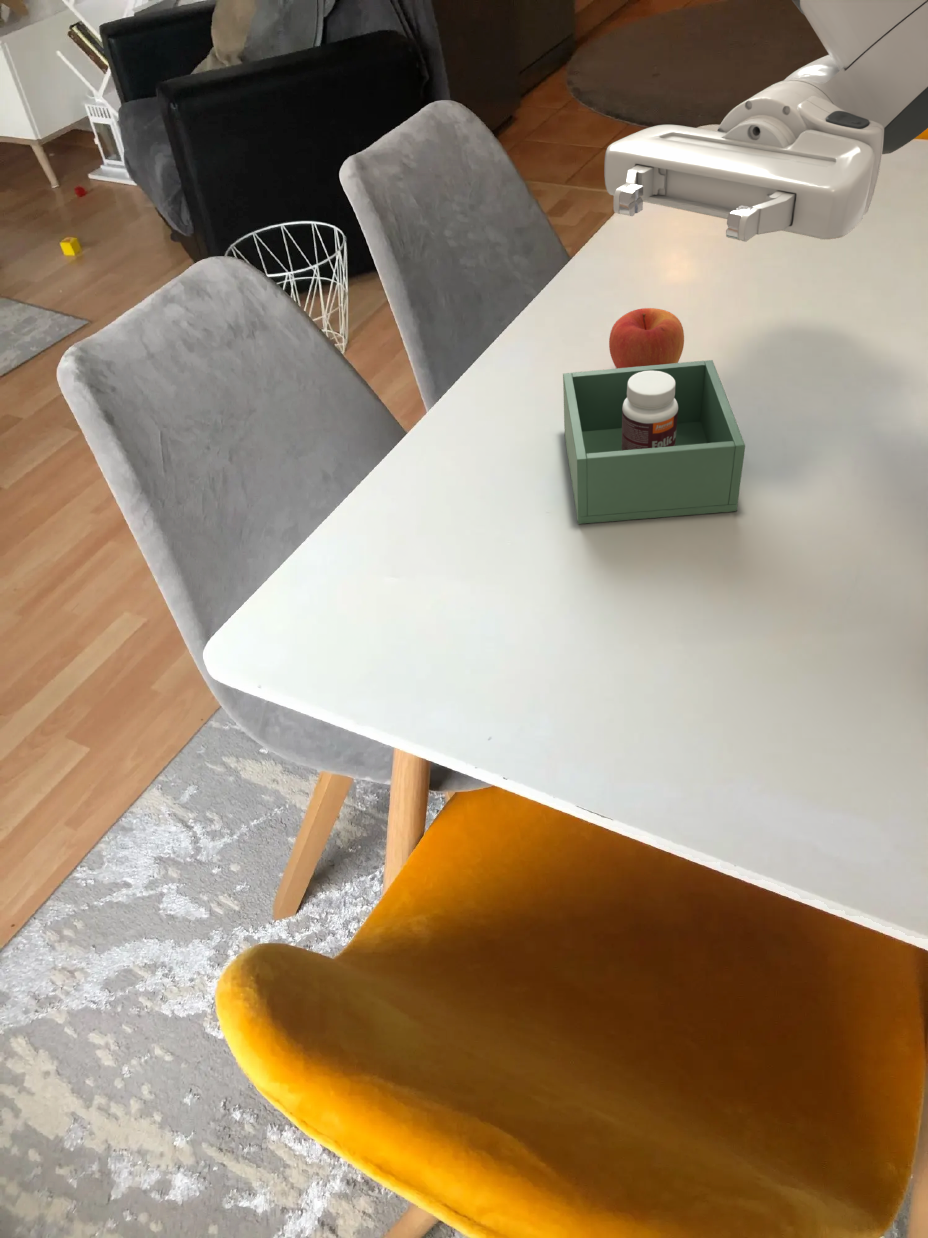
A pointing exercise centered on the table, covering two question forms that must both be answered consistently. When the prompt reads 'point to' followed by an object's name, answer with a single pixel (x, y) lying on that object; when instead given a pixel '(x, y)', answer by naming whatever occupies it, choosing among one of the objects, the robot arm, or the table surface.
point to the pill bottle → (649, 411)
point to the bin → (651, 477)
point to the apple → (646, 338)
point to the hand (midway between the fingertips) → (676, 216)
